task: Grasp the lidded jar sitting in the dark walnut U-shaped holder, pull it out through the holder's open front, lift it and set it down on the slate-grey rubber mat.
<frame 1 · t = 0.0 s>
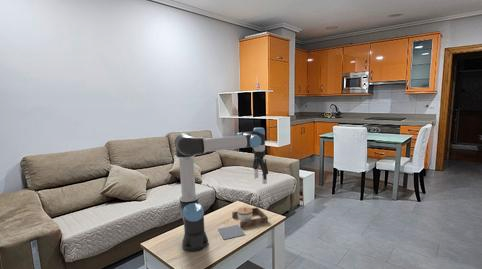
hand: (260, 180, 185), 28 cm above the table, fingers open, 13 cm apart
lidded jar: (245, 221, 188), on the table
walnut holder: (250, 219, 189), on the table
grey mat: (231, 232, 173), on the table
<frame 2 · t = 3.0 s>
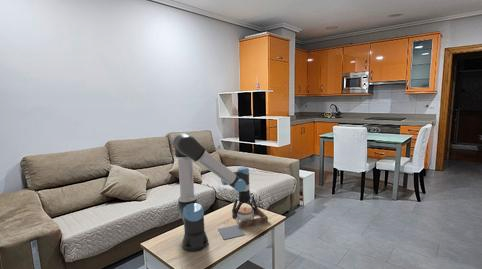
hand: (245, 220, 188), 0 cm above the table, fingers closed on lidded jar, 11 cm apart
lidded jar: (245, 221, 188), on the table, touching gripper
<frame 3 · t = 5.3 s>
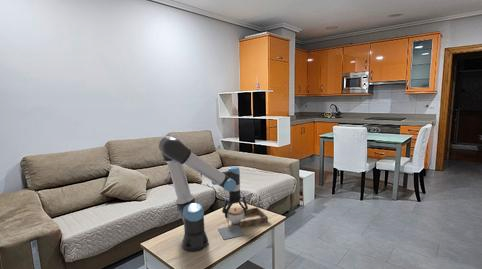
hand: (235, 220, 185), 2 cm above the table, fingers closed on lidded jar, 11 cm apart
lidded jar: (235, 221, 185), point 1 cm above the table, touching gripper
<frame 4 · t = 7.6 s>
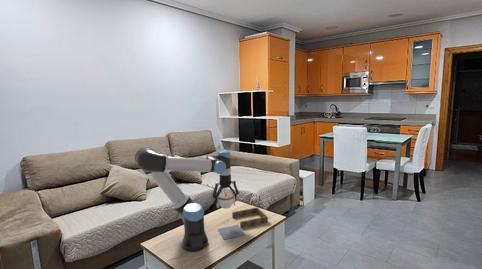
hand: (226, 205, 181), 13 cm above the table, fingers closed on lidded jar, 11 cm apart
lidded jar: (226, 207, 181), point 13 cm above the table, touching gripper
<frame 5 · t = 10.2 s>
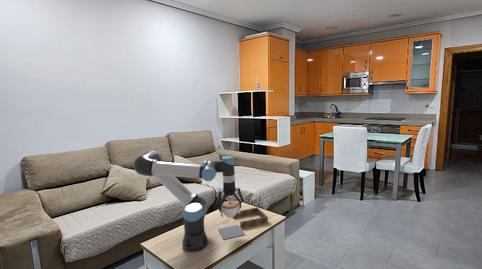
hand: (230, 214, 171), 12 cm above the table, fingers closed on lidded jar, 11 cm apart
lidded jar: (230, 215, 171), point 11 cm above the table, touching gripper
when the fingers open (2 cm above the table, at t = 12.4 s): lidded jar drops 1 cm, resting on grey mat.
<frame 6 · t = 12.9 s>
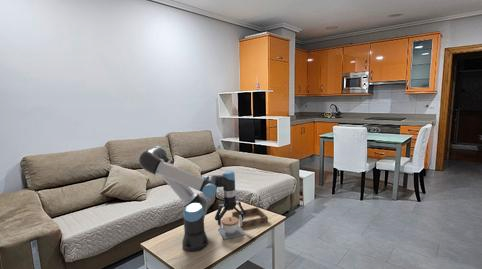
hand: (230, 227, 172), 3 cm above the table, fingers open, 13 cm apart
lidded jar: (230, 231, 173), resting on grey mat
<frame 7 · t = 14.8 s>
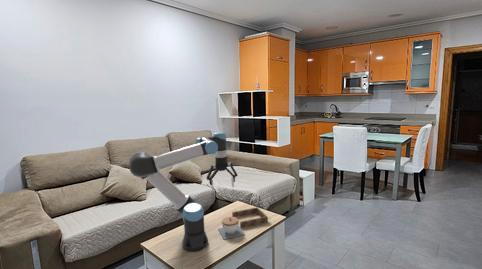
hand: (222, 188, 176), 27 cm above the table, fingers open, 13 cm apart
nothing on the table moved.
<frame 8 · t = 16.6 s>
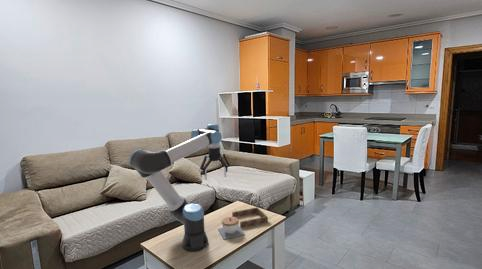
hand: (215, 178, 183), 32 cm above the table, fingers open, 13 cm apart
nothing on the table moved.
at the end: lidded jar inside the target area on the grey mat (0.2 cm from its centre), point 0.2 cm above the grey mat's base; lidded jar tilted 0°; the gripper is holding nothing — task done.
